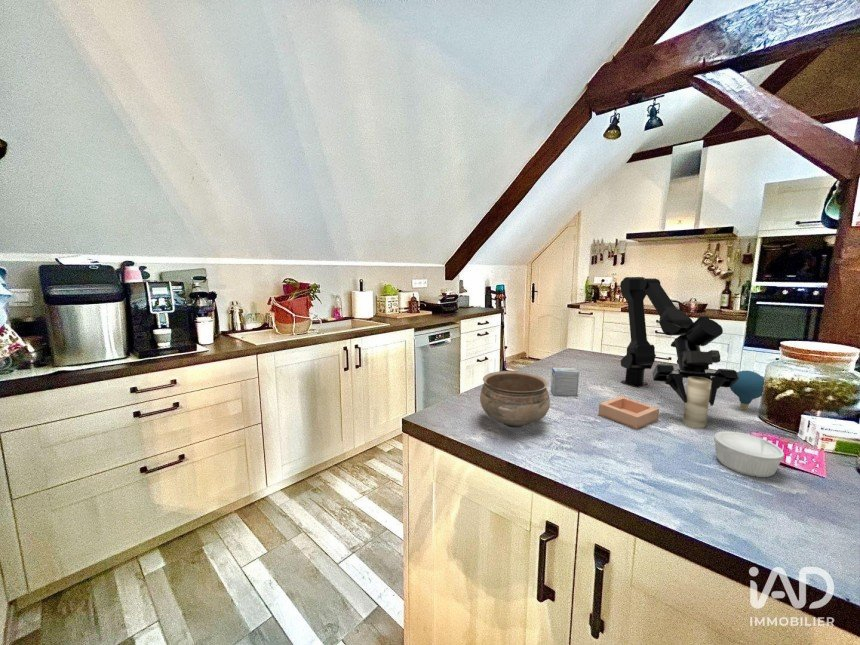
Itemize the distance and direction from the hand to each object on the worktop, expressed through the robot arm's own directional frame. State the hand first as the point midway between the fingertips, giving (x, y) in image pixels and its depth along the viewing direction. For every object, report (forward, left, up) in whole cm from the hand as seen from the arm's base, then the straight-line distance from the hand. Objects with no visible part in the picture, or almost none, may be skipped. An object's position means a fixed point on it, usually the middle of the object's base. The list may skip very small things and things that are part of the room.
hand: (698, 403), depth 93 cm
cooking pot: (+40, -28, -7) cm, 49 cm away
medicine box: (+10, -35, -7) cm, 37 cm away
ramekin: (+12, +14, -7) cm, 20 cm away
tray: (+10, -13, -7) cm, 17 cm away
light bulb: (-25, +2, -7) cm, 26 cm away
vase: (-1, -1, -7) cm, 7 cm away
